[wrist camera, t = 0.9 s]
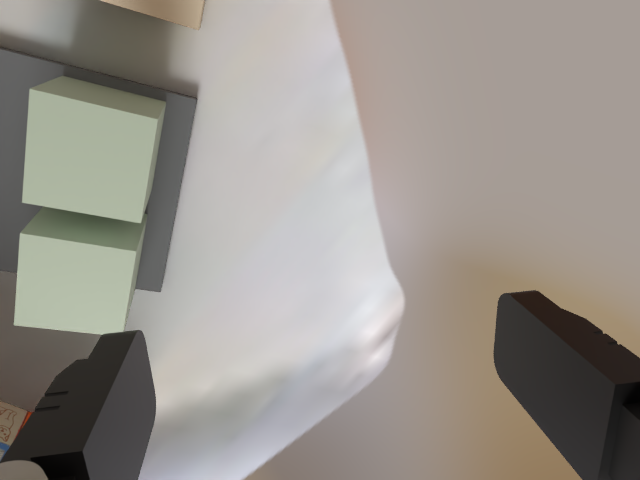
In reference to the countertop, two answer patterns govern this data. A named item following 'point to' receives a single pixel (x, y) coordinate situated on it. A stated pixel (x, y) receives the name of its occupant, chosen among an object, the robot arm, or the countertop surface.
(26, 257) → the sage block far
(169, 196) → the build mat
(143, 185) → the sage block near
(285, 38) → the countertop surface
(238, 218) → the countertop surface
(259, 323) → the countertop surface
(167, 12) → the maple block
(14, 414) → the stack of blocks
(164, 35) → the countertop surface
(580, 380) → the robot arm
